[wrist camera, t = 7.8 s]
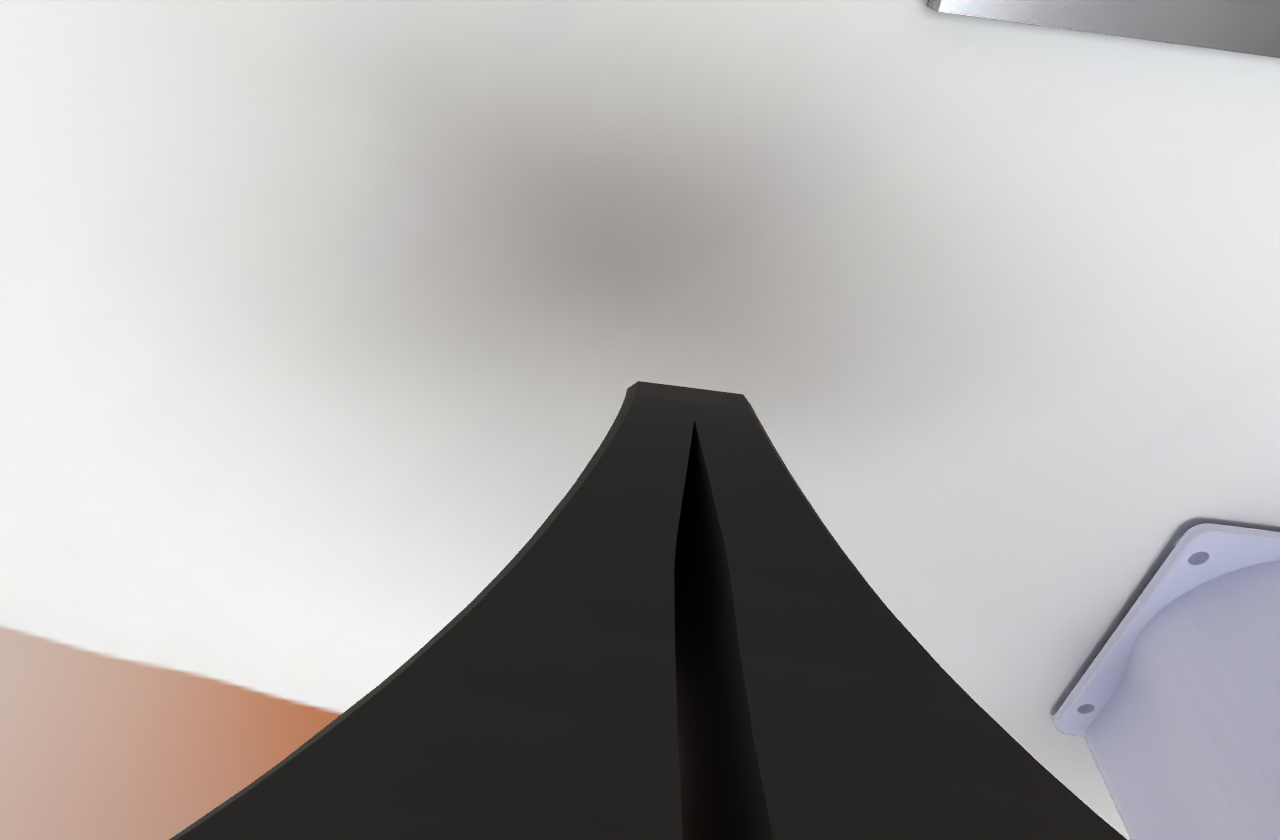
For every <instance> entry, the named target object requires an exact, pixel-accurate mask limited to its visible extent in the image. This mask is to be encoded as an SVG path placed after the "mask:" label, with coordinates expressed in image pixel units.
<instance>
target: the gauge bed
mask: <svg viewBox="0 0 1280 840" xmlns="http://www.w3.org/2000/svg"><path fill="white" fill-rule="evenodd" d="M927 6H928V7H930V8H932V9H934V10H936V11H938V12H944V13H952V14H959V15H967V16H974V17H981V18H989V19H996V20H1003V21H1011V22H1018V23H1026V24H1033V25H1040V26H1048V27H1055V28H1063V29H1070V30H1077V31H1085V32H1092V33H1099V34H1107V35H1114V36H1122V37H1129V38H1136V39H1144V40H1151V41H1159V42H1166V43H1173V44H1181V45H1188V46H1195V47H1203V48H1210V49H1218V50H1225V51H1232V52H1240V53H1247V54H1255V55H1262V56H1269V57H1277V58H1280V0H929V2H928V5H927Z"/></svg>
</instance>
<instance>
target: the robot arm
mask: <svg viewBox="0 0 1280 840" xmlns="http://www.w3.org/2000/svg"><path fill="white" fill-rule="evenodd" d="M1194 553H1195V554H1194ZM1053 721H1054V723H1055V726H1056V728H1057V730H1058V731H1059V732H1061V733H1064V734H1068V735H1077V736H1084V738H1085V740H1086V742H1087V745H1088V747H1089V749H1090V751H1091V753H1092V756H1093V758H1094V760H1095V762H1096V764H1097V767H1098V769H1099V771H1100V773H1101V775H1102V778H1103V780H1104V782H1105V784H1106V786H1107V789H1108V791H1109V793H1110V795H1111V797H1112V800H1113V802H1114V804H1115V806H1116V808H1117V810H1118V813H1119V815H1120V817H1121V819H1122V821H1123V824H1124V826H1125V828H1126V830H1127V832H1128V835H1129V837H1130V839H1131V840H1280V532H1276V531H1268V530H1260V529H1252V528H1244V527H1236V526H1228V525H1220V524H1212V523H1204V524H1199V525H1195V526H1194V527H1192V528H1190V529H1188V530H1187V531H1186V532H1185V533H1184V535H1183V536H1182V537H1181V539H1180V540H1179V542H1178V543H1177V544H1176V546H1175V547H1174V549H1173V550H1172V551H1171V553H1170V554H1169V556H1168V557H1167V558H1166V560H1165V561H1164V563H1163V564H1162V565H1161V567H1160V568H1159V570H1158V571H1157V572H1156V574H1155V575H1154V577H1153V578H1152V579H1151V581H1150V582H1149V584H1148V585H1147V586H1146V588H1145V589H1144V591H1143V592H1142V593H1141V595H1140V596H1139V598H1138V599H1137V600H1136V602H1135V603H1134V605H1133V606H1132V607H1131V609H1130V610H1129V612H1128V613H1127V614H1126V616H1125V617H1124V619H1123V620H1122V621H1121V623H1120V624H1119V626H1118V627H1117V628H1116V630H1115V631H1114V633H1113V634H1112V635H1111V637H1110V638H1109V640H1108V641H1107V642H1106V644H1105V645H1104V647H1103V648H1102V649H1101V651H1100V652H1099V654H1098V655H1097V656H1096V658H1095V659H1094V661H1093V662H1092V663H1091V665H1090V666H1089V668H1088V669H1087V670H1086V672H1085V673H1084V675H1083V676H1082V677H1081V679H1080V680H1079V682H1078V683H1077V684H1076V686H1075V687H1074V689H1073V690H1072V691H1071V693H1070V694H1069V696H1068V697H1067V698H1066V700H1065V701H1064V703H1063V704H1062V705H1061V707H1060V708H1059V710H1058V711H1057V712H1056V714H1055V715H1054V718H1053ZM170 840H1127V839H1126V838H1124V837H1123V836H1122V835H1121V834H1120V833H1118V832H1117V831H1116V830H1115V829H1114V828H1112V827H1111V826H1110V825H1109V824H1108V823H1107V822H1105V821H1104V820H1103V819H1102V818H1101V817H1099V816H1098V815H1097V814H1096V813H1095V812H1094V811H1092V810H1091V809H1090V808H1089V807H1088V806H1087V805H1086V804H1085V803H1083V802H1082V801H1081V800H1080V799H1079V798H1078V797H1077V796H1076V795H1074V794H1073V793H1072V792H1071V791H1070V790H1069V789H1068V788H1067V787H1065V786H1064V785H1063V784H1062V783H1061V782H1060V781H1059V780H1058V779H1056V778H1055V777H1054V776H1053V775H1052V774H1051V773H1050V772H1049V771H1047V770H1046V769H1045V768H1044V767H1043V766H1042V765H1041V764H1040V763H1039V762H1038V761H1036V760H1035V759H1034V758H1033V757H1032V756H1031V755H1030V754H1029V753H1028V752H1027V751H1026V750H1025V749H1024V748H1023V747H1022V746H1021V745H1020V744H1019V743H1018V742H1017V741H1016V740H1015V739H1013V738H1012V737H1011V736H1010V735H1009V734H1008V733H1007V732H1006V731H1005V730H1004V729H1003V728H1002V727H1001V726H1000V725H999V724H998V723H997V722H996V721H995V720H994V719H993V718H992V717H990V716H989V715H988V714H987V713H986V712H985V711H984V710H983V709H982V708H981V707H980V706H979V705H978V704H977V703H976V702H975V701H974V700H973V699H972V698H971V697H970V696H969V695H968V694H967V693H966V692H965V691H964V690H963V689H962V688H961V687H960V686H959V685H958V684H957V683H956V682H955V681H954V680H953V679H952V678H951V677H950V676H949V675H948V674H947V673H946V672H945V671H944V670H943V669H942V668H941V666H940V665H939V664H938V663H937V662H936V661H935V660H934V659H933V658H932V657H931V655H930V654H929V653H928V652H927V651H926V650H925V649H924V648H923V647H922V646H921V644H920V643H919V642H918V641H917V640H916V639H915V638H914V637H913V636H912V634H911V633H910V632H909V631H908V630H907V629H906V628H905V627H904V626H903V625H902V623H901V622H900V621H899V620H898V619H897V618H896V617H895V616H894V615H893V613H892V612H891V611H890V610H889V609H888V608H887V606H886V605H885V604H884V603H883V602H882V600H881V599H880V598H879V597H878V595H877V594H876V593H875V592H874V590H873V589H872V588H871V587H870V585H869V584H868V583H867V582H866V580H865V579H864V578H863V576H862V575H861V574H860V572H859V571H858V570H857V568H856V567H855V566H854V565H853V563H852V562H851V561H850V559H849V558H848V557H847V555H846V554H845V553H844V551H843V550H842V549H841V547H840V546H839V545H838V543H837V542H836V540H835V539H834V538H833V536H832V535H831V533H830V532H829V531H828V529H827V528H826V526H825V525H824V524H823V522H822V521H821V519H820V518H819V516H818V515H817V513H816V512H815V510H814V509H813V507H812V506H811V504H810V503H809V501H808V500H807V498H806V497H805V495H804V494H803V492H802V491H801V489H800V488H799V486H798V485H797V483H796V482H795V480H794V478H793V477H792V475H791V474H790V472H789V470H788V469H787V467H786V466H785V464H784V462H783V461H782V459H781V457H780V456H779V454H778V452H777V451H776V449H775V447H774V446H773V444H772V442H771V440H770V439H769V437H768V435H767V433H766V432H765V430H764V428H763V426H762V425H761V423H760V421H759V419H758V417H757V415H756V414H755V412H754V410H753V408H752V406H751V404H750V403H749V402H748V400H747V399H746V398H745V396H744V395H743V394H735V393H727V392H719V391H711V390H703V389H695V388H688V387H680V386H672V385H664V384H656V383H648V382H640V381H638V382H637V383H635V384H634V385H632V386H631V387H629V388H628V389H627V393H626V397H625V400H624V402H623V404H622V407H621V409H620V411H619V413H618V415H617V417H616V419H615V421H614V423H613V425H612V427H611V428H610V430H609V432H608V433H607V435H606V437H605V439H604V440H603V442H602V444H601V445H600V447H599V448H598V450H597V451H596V453H595V454H594V456H593V457H592V459H591V460H590V462H589V463H588V465H587V466H586V468H585V469H584V470H583V472H582V473H581V475H580V476H579V478H578V479H577V481H576V482H575V484H574V485H573V486H572V488H571V489H570V490H569V492H568V493H567V494H566V496H565V497H564V498H563V499H562V501H561V502H560V503H559V504H558V506H557V507H556V508H555V509H554V511H553V512H552V513H551V514H550V516H549V517H548V518H547V519H546V521H545V522H544V523H543V524H542V526H541V527H540V528H539V529H538V530H537V532H536V533H535V534H534V535H533V537H532V538H531V539H530V540H529V541H528V542H527V544H526V545H525V546H524V547H523V548H522V549H521V550H520V551H519V553H518V554H517V555H516V556H515V557H514V558H513V559H512V560H511V561H510V563H509V564H508V565H507V566H506V567H505V568H504V569H503V570H502V571H501V572H500V573H499V574H498V575H497V576H496V577H495V578H494V579H493V580H492V582H491V583H490V584H489V585H488V586H487V587H486V588H485V589H484V590H483V591H482V592H481V593H480V594H479V595H478V596H477V597H476V598H475V599H474V600H473V601H472V602H471V603H470V604H469V605H468V606H467V607H466V608H465V609H464V610H463V611H461V612H460V613H459V614H458V615H457V616H456V617H455V618H454V619H453V620H452V621H451V622H450V623H448V624H447V625H446V626H445V627H444V628H443V629H442V630H441V631H440V632H439V633H438V634H437V635H435V636H434V637H433V638H432V639H431V640H430V641H429V642H428V643H427V644H426V645H425V646H424V647H423V648H421V649H420V650H419V651H418V652H417V653H416V654H415V655H414V656H412V657H411V658H410V659H409V660H408V661H407V662H406V663H404V664H403V665H402V666H401V667H400V668H399V669H397V670H396V671H395V672H394V673H393V674H392V675H390V676H389V677H388V678H387V679H386V680H384V681H383V682H382V683H381V684H380V685H379V686H377V687H376V688H375V689H373V690H372V691H371V692H370V693H368V694H367V695H366V696H364V697H363V698H362V699H361V700H359V701H358V702H357V703H356V704H354V705H353V706H352V707H350V708H349V709H348V710H347V711H345V712H344V713H343V714H341V715H340V716H339V717H338V718H336V719H335V720H334V721H333V722H331V723H330V724H329V725H327V726H326V727H325V728H324V729H322V730H321V731H320V732H318V733H317V734H316V735H315V736H313V737H312V738H311V739H310V740H308V741H307V742H306V743H304V744H303V745H302V746H301V747H299V748H298V749H297V750H296V751H294V752H293V753H292V754H290V755H289V756H288V757H287V758H285V759H284V760H283V761H281V762H280V763H279V764H277V765H276V766H275V767H273V768H272V769H271V770H269V771H268V772H267V773H265V774H264V775H263V776H261V777H259V778H258V779H257V780H255V781H254V782H253V783H251V784H250V785H249V786H247V787H246V788H244V789H243V790H242V791H240V792H238V793H237V794H235V795H234V796H233V797H231V798H230V799H228V800H227V801H225V802H224V803H222V804H221V805H219V806H218V807H216V808H215V809H213V810H212V811H211V812H209V813H208V814H206V815H205V816H203V817H202V818H200V819H199V820H197V821H196V822H194V823H193V824H192V825H190V826H189V827H187V828H186V829H184V830H183V831H181V832H180V833H178V834H177V835H175V836H174V837H173V838H171V839H170Z"/></svg>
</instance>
